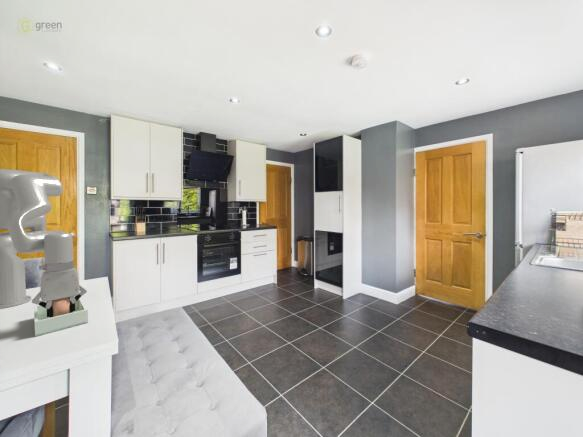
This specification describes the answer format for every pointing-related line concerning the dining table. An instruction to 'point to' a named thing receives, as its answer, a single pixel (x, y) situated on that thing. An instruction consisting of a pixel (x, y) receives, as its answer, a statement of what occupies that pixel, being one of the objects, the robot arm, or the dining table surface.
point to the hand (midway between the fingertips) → (61, 315)
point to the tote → (59, 319)
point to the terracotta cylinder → (61, 306)
